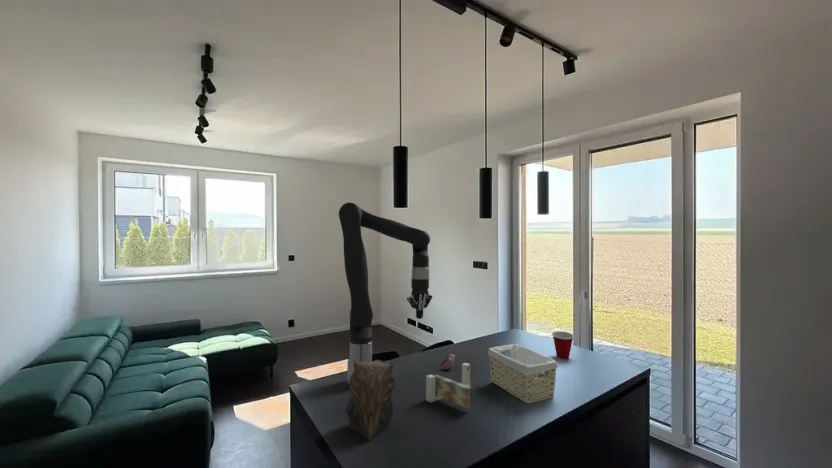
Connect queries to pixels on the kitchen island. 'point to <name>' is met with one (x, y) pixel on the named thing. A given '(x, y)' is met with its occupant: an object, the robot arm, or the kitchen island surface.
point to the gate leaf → (452, 391)
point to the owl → (370, 398)
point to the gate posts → (431, 383)
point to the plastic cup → (562, 343)
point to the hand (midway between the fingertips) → (419, 318)
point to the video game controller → (448, 362)
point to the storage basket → (523, 372)
